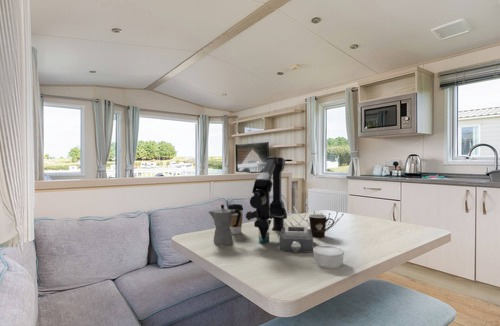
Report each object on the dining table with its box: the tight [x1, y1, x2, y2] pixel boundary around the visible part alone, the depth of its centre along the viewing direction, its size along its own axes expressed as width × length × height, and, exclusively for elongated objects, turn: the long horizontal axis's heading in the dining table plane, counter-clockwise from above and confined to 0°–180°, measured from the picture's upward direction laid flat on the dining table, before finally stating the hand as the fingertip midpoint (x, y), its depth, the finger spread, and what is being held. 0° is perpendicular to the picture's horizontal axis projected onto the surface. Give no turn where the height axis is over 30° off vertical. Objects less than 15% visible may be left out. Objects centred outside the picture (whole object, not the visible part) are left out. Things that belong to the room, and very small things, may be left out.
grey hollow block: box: [278, 225, 314, 253], centre depth 121 cm, size 18×14×7 cm
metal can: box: [258, 227, 270, 245], centre depth 127 cm, size 5×5×8 cm
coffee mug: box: [308, 213, 335, 239], centre depth 135 cm, size 12×9×10 cm
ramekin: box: [312, 244, 345, 269], centre depth 101 cm, size 11×11×5 cm
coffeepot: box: [208, 204, 241, 246], centre depth 128 cm, size 15×9×18 cm, turn 92°
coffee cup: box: [227, 203, 244, 235], centre depth 144 cm, size 8×8×15 cm
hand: (264, 237), depth 127 cm, fingers closed on metal can, 5 cm apart
